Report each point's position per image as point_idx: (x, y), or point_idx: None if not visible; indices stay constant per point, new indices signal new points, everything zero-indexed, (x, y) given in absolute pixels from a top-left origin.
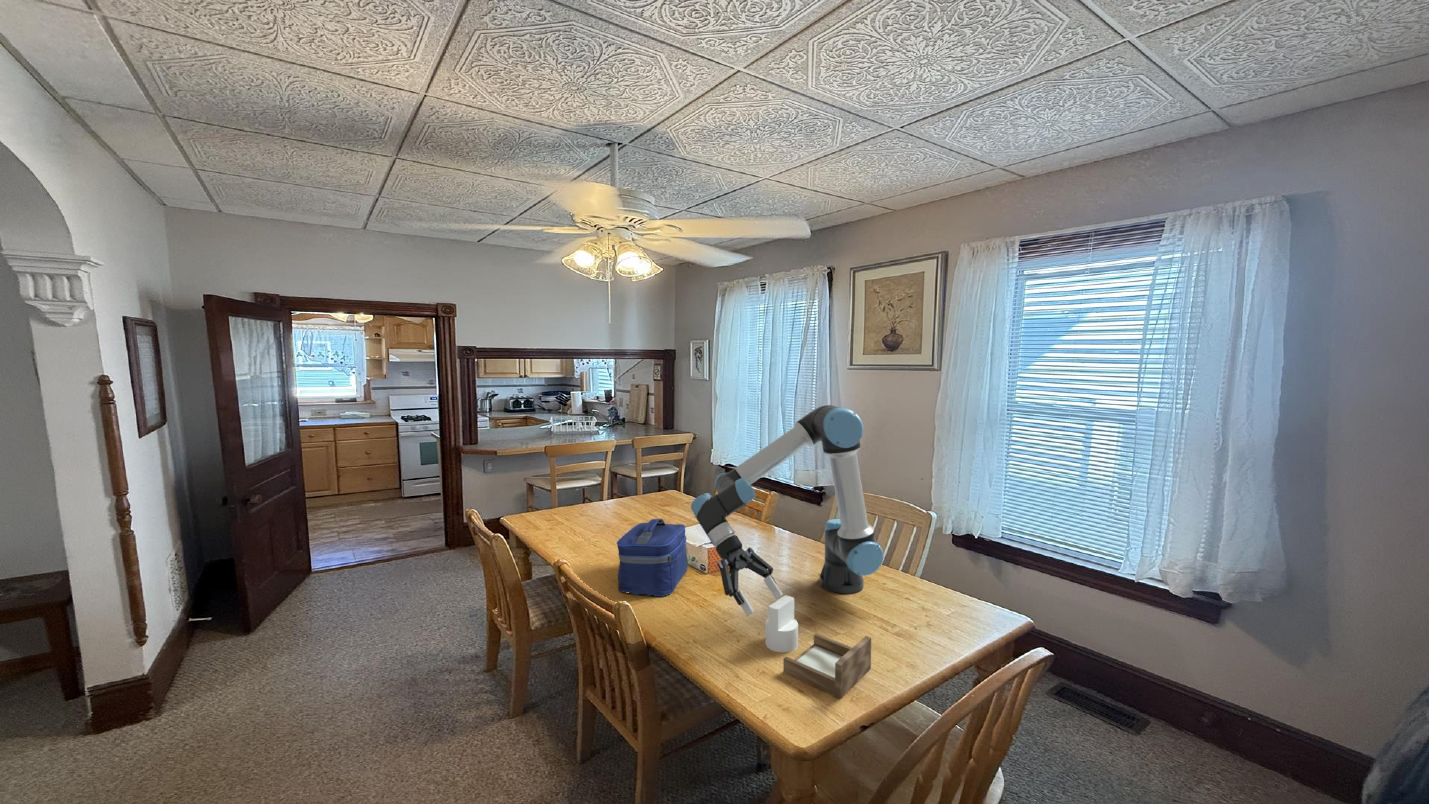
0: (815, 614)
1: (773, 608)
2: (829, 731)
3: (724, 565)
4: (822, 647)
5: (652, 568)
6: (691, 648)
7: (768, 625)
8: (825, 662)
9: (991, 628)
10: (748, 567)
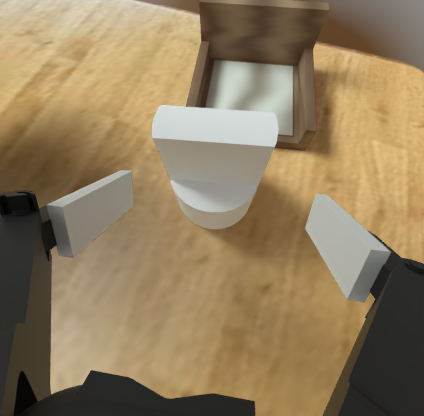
0: (50, 186)
1: (277, 127)
2: (372, 59)
3: None
4: None
5: None
6: None
7: (249, 191)
8: (244, 96)
9: None
10: (46, 382)
